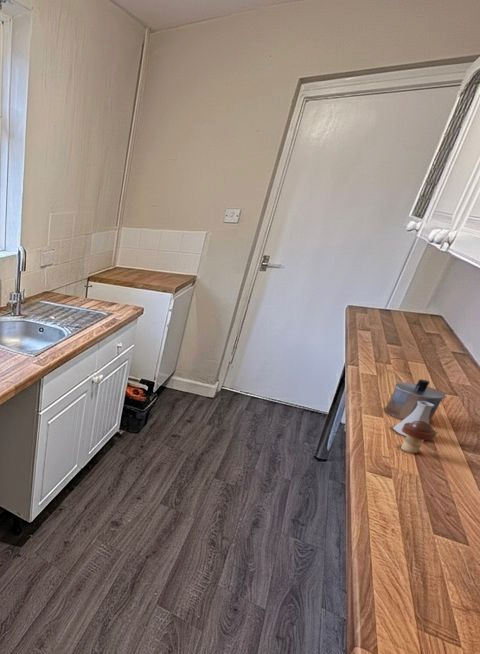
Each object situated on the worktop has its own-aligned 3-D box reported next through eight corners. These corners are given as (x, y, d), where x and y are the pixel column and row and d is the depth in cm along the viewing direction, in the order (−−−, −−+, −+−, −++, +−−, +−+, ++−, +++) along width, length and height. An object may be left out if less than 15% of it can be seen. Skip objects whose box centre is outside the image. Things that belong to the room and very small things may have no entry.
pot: (425, 413, 130) (437, 389, 126) (434, 427, 122) (447, 401, 119) (382, 405, 135) (393, 381, 132) (388, 417, 128) (400, 393, 124)
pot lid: (438, 391, 127) (444, 379, 125) (449, 404, 119) (455, 391, 117) (390, 382, 132) (396, 371, 131) (397, 394, 124) (403, 382, 123)
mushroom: (421, 448, 112) (436, 420, 108) (427, 459, 107) (443, 430, 104) (391, 441, 115) (405, 414, 112) (396, 451, 111) (410, 423, 107)
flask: (386, 427, 122) (400, 397, 118) (411, 427, 122) (426, 397, 118) (410, 440, 115) (425, 409, 112) (436, 441, 115) (453, 409, 111)
